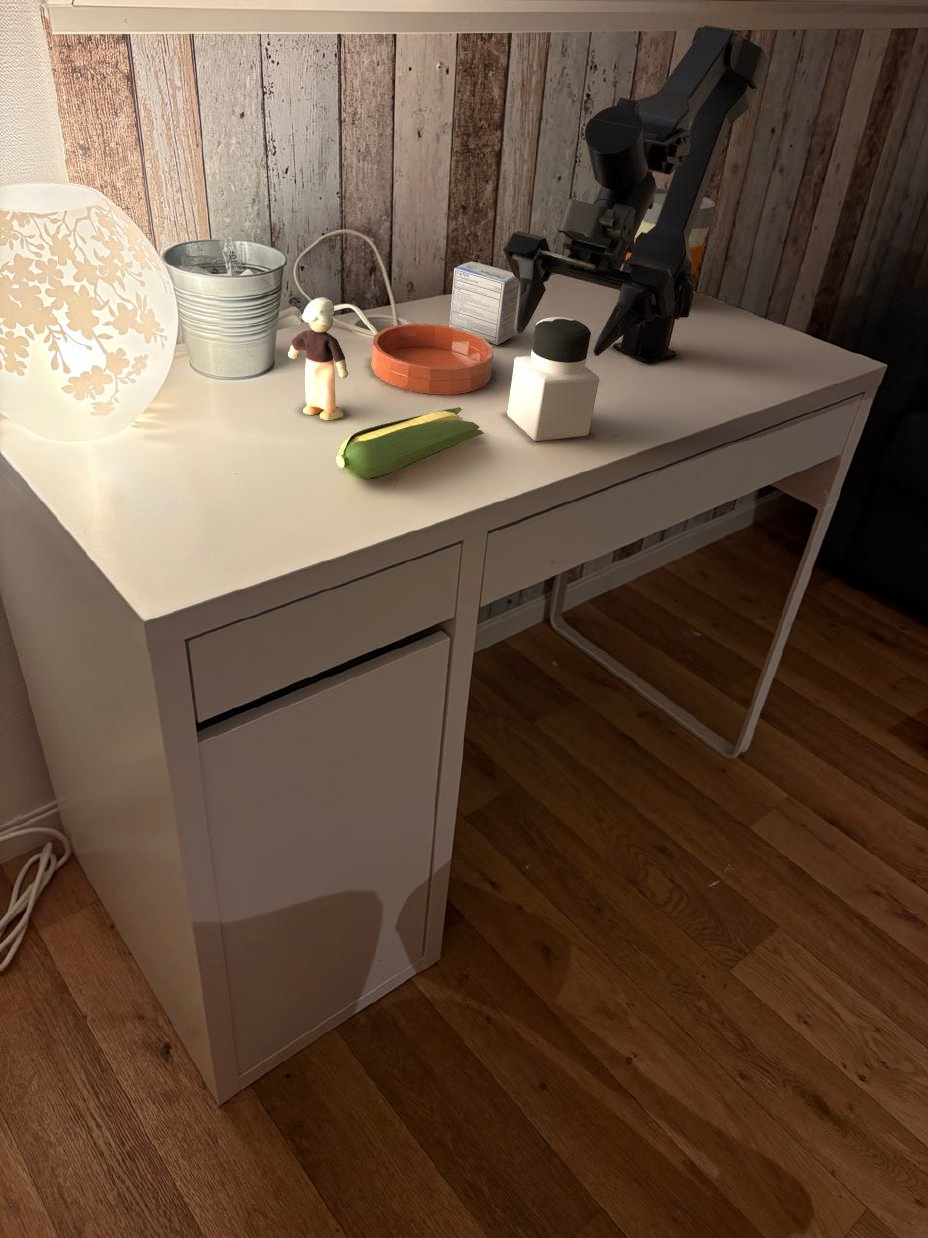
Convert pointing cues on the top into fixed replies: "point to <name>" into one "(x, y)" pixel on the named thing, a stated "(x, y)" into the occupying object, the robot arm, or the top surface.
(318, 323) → the grandmother figurine
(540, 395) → the medicine bottle
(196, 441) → the top surface
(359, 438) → the edible corn
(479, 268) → the medicine box
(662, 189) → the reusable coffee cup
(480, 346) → the plant saucer
